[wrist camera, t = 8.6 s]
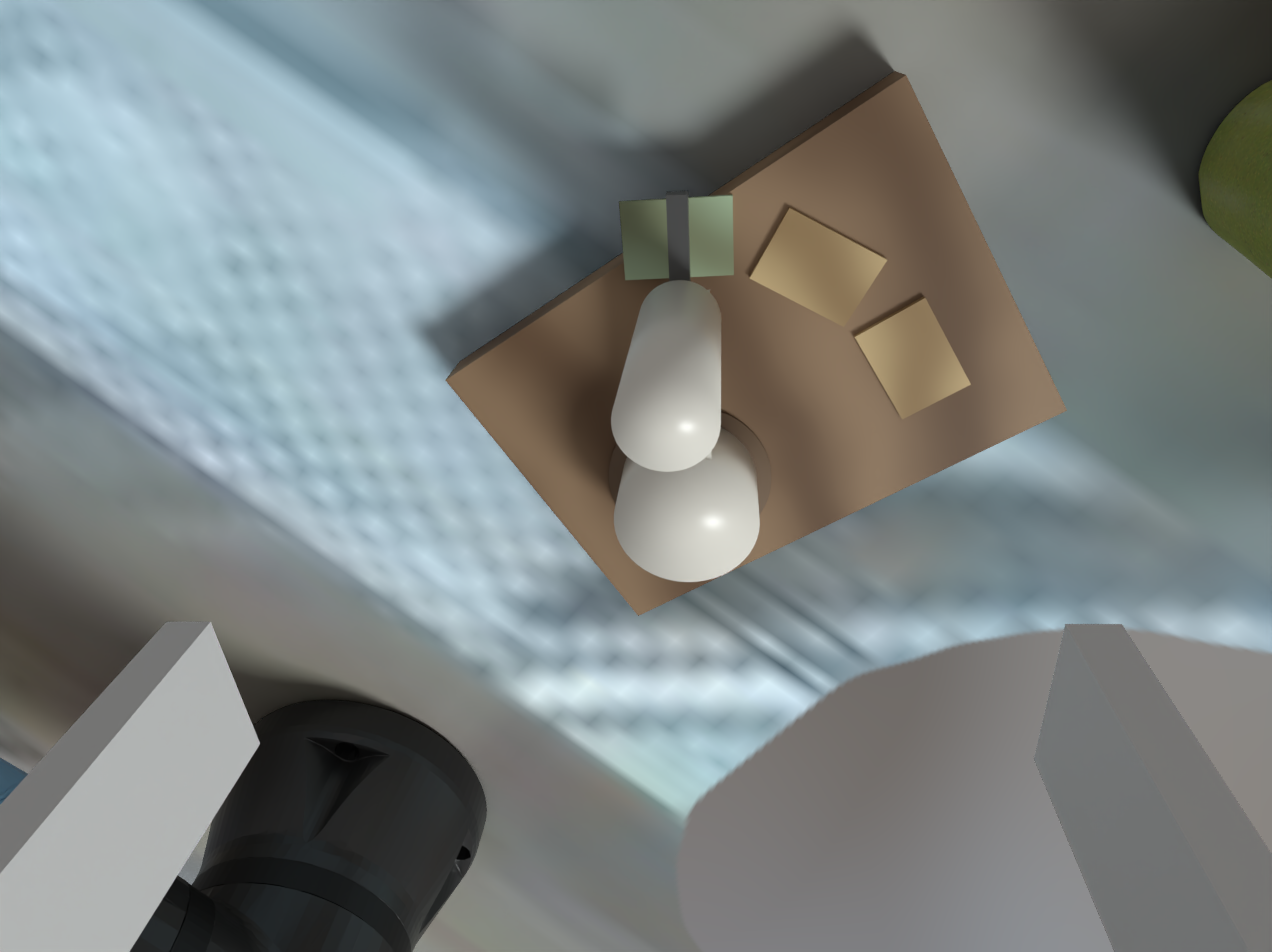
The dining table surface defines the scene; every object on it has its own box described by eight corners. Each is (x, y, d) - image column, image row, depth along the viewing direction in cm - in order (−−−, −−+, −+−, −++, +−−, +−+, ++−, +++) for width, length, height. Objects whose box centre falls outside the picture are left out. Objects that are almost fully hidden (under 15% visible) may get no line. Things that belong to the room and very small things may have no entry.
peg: (755, 536, 36) (768, 731, 26) (627, 536, 36) (592, 727, 27) (761, 177, 28) (781, 263, 19) (600, 184, 29) (539, 271, 19)
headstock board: (642, 589, 40) (638, 618, 38) (430, 326, 35) (413, 345, 33) (1049, 389, 33) (1068, 412, 32) (869, 19, 28) (880, 20, 26)
